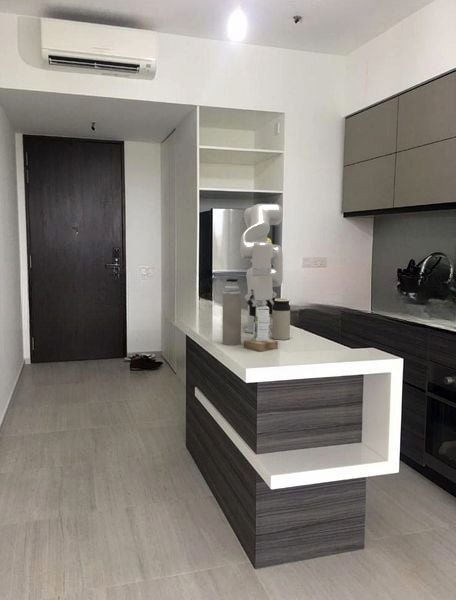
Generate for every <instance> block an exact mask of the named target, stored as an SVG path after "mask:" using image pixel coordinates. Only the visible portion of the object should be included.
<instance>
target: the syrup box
mask: <svg viewBox="0 0 456 600" xmlns="http://www.w3.org/2000/svg"><path fill="white" fill-rule="evenodd" d="M255 306H256V316H254V329H253V333H252V334H253V338H252V339H254V341H255V342H266V341H268V340H269V333H270V332H269V329H270V327H269V323H270V314H269V307H268V306H266V305H255Z"/></svg>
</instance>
